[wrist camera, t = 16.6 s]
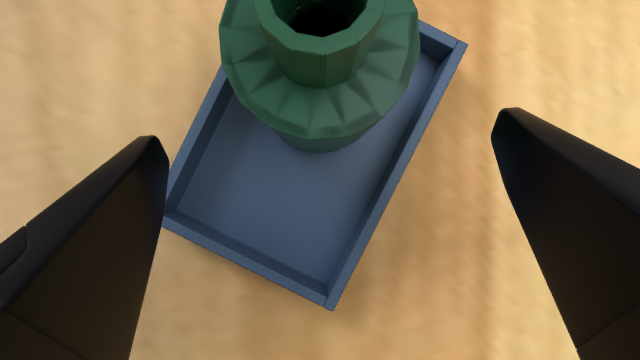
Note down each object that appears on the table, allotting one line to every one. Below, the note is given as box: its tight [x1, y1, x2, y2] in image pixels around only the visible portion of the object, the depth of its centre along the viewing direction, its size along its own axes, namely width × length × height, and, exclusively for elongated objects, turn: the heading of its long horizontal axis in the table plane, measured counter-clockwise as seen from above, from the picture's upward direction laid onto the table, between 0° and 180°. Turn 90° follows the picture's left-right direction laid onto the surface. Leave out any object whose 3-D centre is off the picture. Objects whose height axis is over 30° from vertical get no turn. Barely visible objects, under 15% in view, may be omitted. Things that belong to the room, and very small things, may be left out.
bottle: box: [219, 0, 420, 153], centre depth 15 cm, size 7×7×13 cm
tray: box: [161, 19, 468, 311], centre depth 21 cm, size 11×16×3 cm
